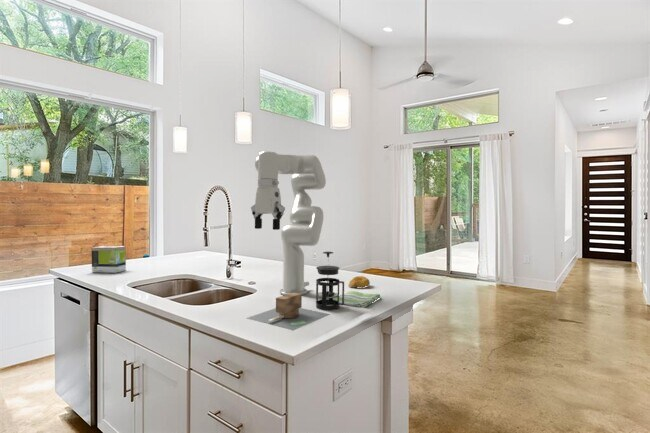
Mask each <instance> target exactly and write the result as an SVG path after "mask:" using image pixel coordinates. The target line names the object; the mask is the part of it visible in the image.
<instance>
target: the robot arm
mask: <svg viewBox="0 0 650 433" xmlns="http://www.w3.org/2000/svg"><path fill="white" fill-rule="evenodd" d="M254 166H255V170H256V171H257V189H256V193H255V194H256V195H255V203H254V205H251V207H250V210H251V213H252V216H253V219H254V229H255V230H259V229H262V228H263V219H262V216H263V215H264V214H266V215H267V214H268V215H272V217H273V219H272V230H274V231H276V230H277V231H278V230H279V231H280V229H281V220H282V217H283V216H284V214H285V211H286V207H285V206H283V205H282V198H281V197H282V196H281V191H280V188H279V186H278V185H279V184H280V182H279V175H292V176H291V178H290V184H291V189H292V192H293V197H294V200H293V203H292V208H291V211H290V214H289V221H290V223H291V224H287V225H284V226H283V227H282V229H281V231H280V233H281V234H280V235H281V241H282V251H283V252H282V254H283V258H282V260H283V261H282V262H283V264H282V265H283V267H282V276H283V277H282V279H283V281H282V284H283V285H282V288H281V289H280V290H279V294H280V295H281V296H284V295H287V294H290V293H294V292H295V293H300V294H302V296H303V295H306V294H307V293H308V289H306V287H308V286H310V282H309V281H305V253H304V251H303V249H302V248H301V246H302V247H313V246H317V244H318V243H319V240H320V237H321V232H322V227H323V223H324V211H323V208H321V207H320V206H315V205H312V203H313V202H312V200H313V199H312V198H311V196H310V195H309V194H308V193H307V191H308V190H309V191H310V190H312V191H313V190H315V191H316V190H317V191H318V190H322V189H324V188H325V187H326V184H327V183H326V182H327V180H326V179H327V178H326V175H325V172H324V169H323V166H322V163H321V162H320V159H319V158H318V157H317V155H308V154H307V155H296V154H279V153H276V152H275V151H268V150H267V151H261V152H259V153H258V156H256V159H255V161H254ZM305 190H307V191H305Z"/></svg>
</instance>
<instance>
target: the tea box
mask: <svg viewBox="0 0 650 433" xmlns="http://www.w3.org/2000/svg"><path fill="white" fill-rule="evenodd" d="M126 252H127V251H126V245H99V246H94V247H91V272H92V273H109V274H110V273H111V274H115V273H120V272H124V271H126V270H127V267H126V266H127V264H126V263H127V262H126V261H127V260H126V259H127V258H126V257H127V256H126V255H127V254H126Z"/></svg>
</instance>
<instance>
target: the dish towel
mask: <svg viewBox="0 0 650 433" xmlns="http://www.w3.org/2000/svg"><path fill="white" fill-rule="evenodd" d="M380 297H381V294H379V293H373V294H371V293H363V292H359V291H354V290H351V291H347V292H344V304H343V305H345V306H349V307H355V308H356V307H357V308H362V309H366V308H367V307H366V306H368V305H369V306H371V305H372V304H371V303H372V302H374V301H375V300H377V299H378V298H380ZM333 300H336V301H338V297H336V298H333ZM339 303H342V294H341V295H340V294H339ZM370 304H371V305H370ZM343 305H342V306H343ZM369 306H368V307H369ZM365 307H366V308H365Z"/></svg>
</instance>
